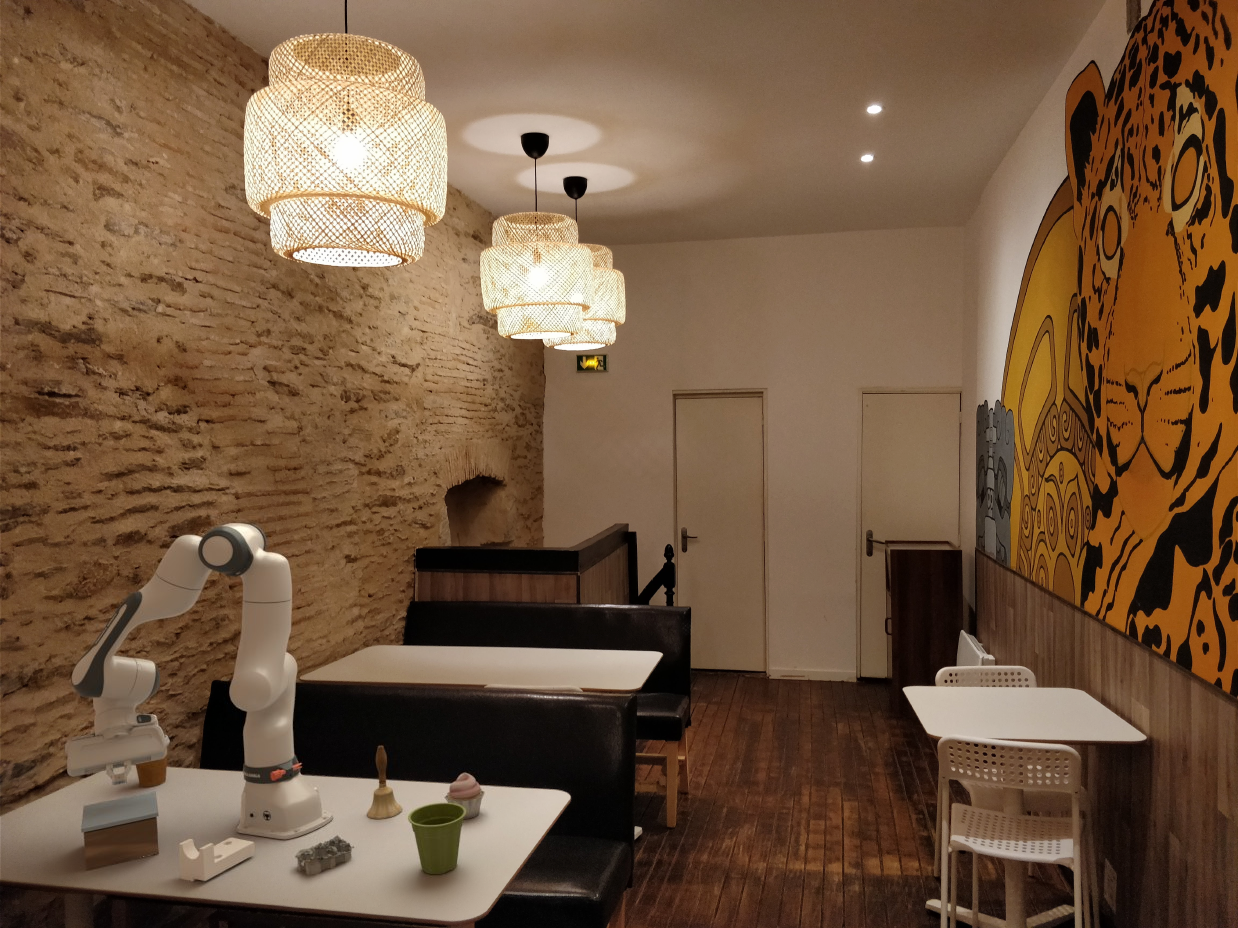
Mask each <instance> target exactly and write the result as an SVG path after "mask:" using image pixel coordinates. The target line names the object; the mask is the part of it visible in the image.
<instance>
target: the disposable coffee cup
mask: <svg viewBox="0 0 1238 928" xmlns="http://www.w3.org/2000/svg"><path fill="white" fill-rule="evenodd" d="M164 737H165V741H166V747H167V755H166V756H165V757H164V758H163V759H160V760H155V761H150V762H145V763H140V764H135V768H136V773H137V778H138V782H139V786H140V787H141V788H152V787H156V786H160V785H162V784H164V783H166V780H167V769H168V754H169V745H170V742H171V740H170V738H169V736H168V735H167V734H164Z"/></svg>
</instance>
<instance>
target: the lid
mask: <svg viewBox="0 0 1238 928" xmlns="http://www.w3.org/2000/svg"><path fill="white" fill-rule="evenodd" d="M159 815H160V814H159V807H158V800H157V791H151V792H150V791H149V792H146V793H141V794H140V793H139V794H135V795H129V796H126V797H125V796H124V797H121V798H114V799H111V800H106V801H101V802H95V803H90V804H85V805H83V810H82V818H81V827H80V833H81V834H84V832H87V831H92V830H97V829H101V828H106V827H111V826H115V825H120V824H125V823H129V822H134V821H139V820H143V819H148V818H153V817H159Z"/></svg>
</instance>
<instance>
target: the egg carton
mask: <svg viewBox="0 0 1238 928" xmlns="http://www.w3.org/2000/svg"><path fill="white" fill-rule="evenodd" d="M354 848H355V846H353V845H352V846H351V844H350V842H347V840H345V839H343V838H341V837H340V836H339V835H335V836H334V837H332V838H329V840H327V841H324V842H319V843H317V844H315V845H312V846H311V847H309V848H303V849H300V850H298V851H297V852H296V854H295V856H294V858H295V859H297V869H298V871H305V873H306V875H307V876H310V875H319V874H321V873H322V871H323V870H324V869H333V868H335V867H336V865H337V864H339V863H348V862H350V861H351V860H350V859H352V858H353V857H352V851H353V849H354Z"/></svg>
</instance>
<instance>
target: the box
mask: <svg viewBox="0 0 1238 928" xmlns="http://www.w3.org/2000/svg"><path fill="white" fill-rule="evenodd" d="M158 832H159V831H158V818H157V817H153V818H148V819H143V820H139V821H134V822H129V823H125V824H120V825H115V826H111V827H106V828H101V829H97V830H92V831H87V832H83V843H84V844H83V845H84V860H85V861H84V862H85V871H91V870H95V869H98V868H99V869H100V868H103V867H107V866H112V865H116V863H117V864H120V862H121V863H125V862H129V861H128V860H130V861H133V860H132V859H134V860H137V858H138V859H141V858H140V857H143V856H147V857H149V856H148V855H151V856H154V854H155V855H159V854H160V850H159V849H160V847H159V835H158V834H159V833H158ZM158 853H159V854H158ZM143 858H144V857H143ZM124 861H125V862H124Z"/></svg>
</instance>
